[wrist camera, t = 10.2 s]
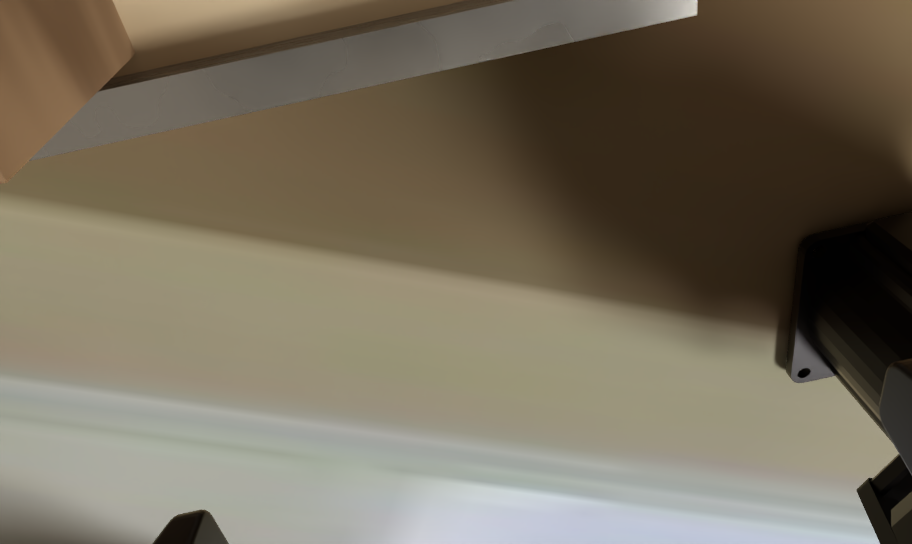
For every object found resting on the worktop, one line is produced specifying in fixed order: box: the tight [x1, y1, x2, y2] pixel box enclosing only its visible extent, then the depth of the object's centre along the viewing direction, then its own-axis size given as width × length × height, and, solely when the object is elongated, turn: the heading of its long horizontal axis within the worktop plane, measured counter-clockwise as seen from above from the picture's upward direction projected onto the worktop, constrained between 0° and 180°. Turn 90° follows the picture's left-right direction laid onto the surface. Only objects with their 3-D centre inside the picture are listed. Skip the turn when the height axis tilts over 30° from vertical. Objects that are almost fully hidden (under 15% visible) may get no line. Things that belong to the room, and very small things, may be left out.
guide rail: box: [29, 0, 697, 161], centre depth 16 cm, size 1×22×1 cm, turn 101°
